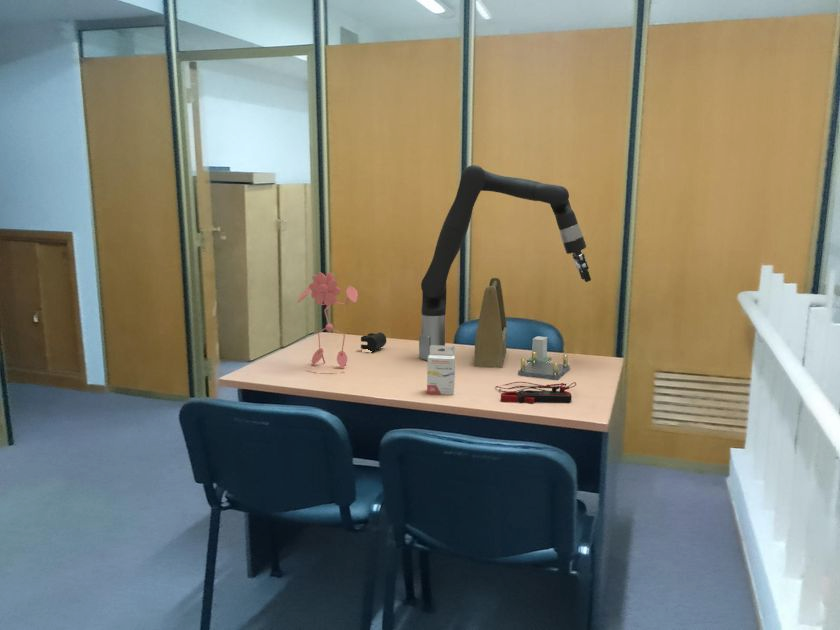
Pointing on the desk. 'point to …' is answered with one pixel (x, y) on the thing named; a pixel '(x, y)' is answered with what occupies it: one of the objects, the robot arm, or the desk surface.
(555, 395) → the digital clamp meter
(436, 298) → the robot arm
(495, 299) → the caddy
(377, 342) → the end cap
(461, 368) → the desk surface
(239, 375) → the desk surface
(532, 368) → the standoff chassis
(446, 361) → the ink cartridge box
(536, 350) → the board module
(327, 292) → the figurine
